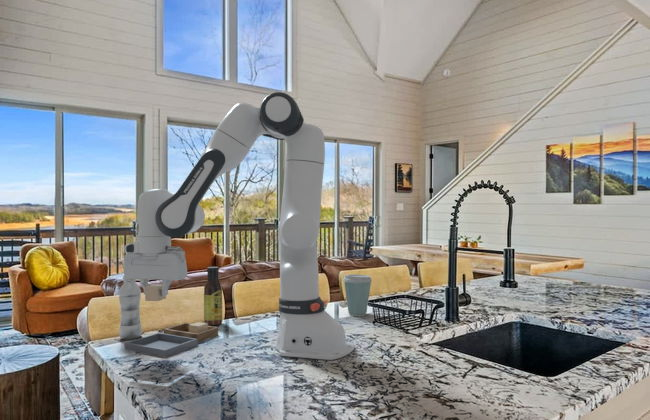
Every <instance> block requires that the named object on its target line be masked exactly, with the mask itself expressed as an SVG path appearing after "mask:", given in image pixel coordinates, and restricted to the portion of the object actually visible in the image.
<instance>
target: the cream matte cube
mask: <svg viewBox="0 0 650 420" xmlns="http://www.w3.org/2000/svg"><path fill="white" fill-rule="evenodd" d="M208 326H209V325H208V323H204V322H200V321H196V322H194V323H191V324H190V325H189V332H190V333H196V334H198V333H201V332H204V331H207V330H208Z"/></svg>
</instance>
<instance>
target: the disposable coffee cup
mask: <svg viewBox="0 0 650 420" xmlns="http://www.w3.org/2000/svg"><path fill="white" fill-rule="evenodd" d="M343 283H344V290H345V291H344V292H345V298H346V303H347V312H348V314H349V316H351V317H352V316H353V317H363V316H364V317H365V316H366V314H367V312H368V304H369V298H370V292H371V291H370V290H371V284H372V278H371V276H370V275H367V274H358V273H357V274H356V273H355V274H354V273H353V274H352V273H351V274H347V273H346V274H344V277H343Z"/></svg>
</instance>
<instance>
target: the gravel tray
mask: <svg viewBox="0 0 650 420" xmlns="http://www.w3.org/2000/svg"><path fill="white" fill-rule="evenodd" d="M198 344H199V342H198V339H195V338H189V337H183V336H176V335H170V334H164V332H163V333H161V332H157V333H153V334H150V335H147V336H143V337H139V338H137V339H133V340H129V341H126V342H125V343H124V350H127V351H131V352H132V351H133V352H136V353H141V354H146V355H152V356H157V357H161V358H162V357H163V358H167V357H170V356H172V355H176V354H178V353H181V352H183V351H186V350H188V349H189V350H190V349H192V348H194V347H197V346H198Z"/></svg>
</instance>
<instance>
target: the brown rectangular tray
mask: <svg viewBox="0 0 650 420" xmlns="http://www.w3.org/2000/svg"><path fill="white" fill-rule="evenodd" d="M190 324H192V323H188V322H183V323H180V324H177V325H174V326H171V327H170V326H169V327H167V328H164V329H163V333H164V334H170V335H176V336H183V337H189V338H195V339H198V343H200V342H203V341H206V340H209V339H211V338H214V337H217V336H219V327H218V326H211V325H208V330H207V331H204V332H201V333H198V334H196V333H190V332H189V325H190Z"/></svg>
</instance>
